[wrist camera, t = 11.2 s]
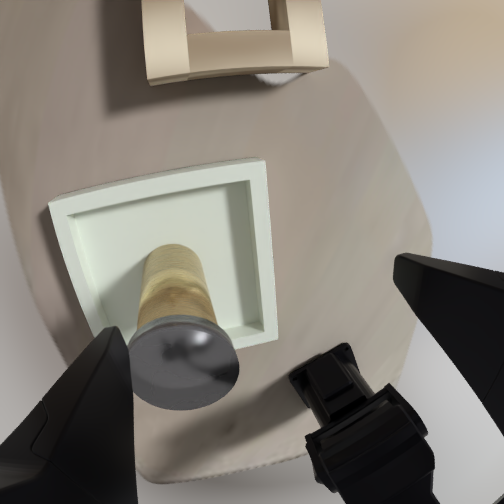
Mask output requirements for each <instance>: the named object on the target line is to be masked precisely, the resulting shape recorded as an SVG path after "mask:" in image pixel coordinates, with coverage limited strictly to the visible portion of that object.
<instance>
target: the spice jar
mask: <svg viewBox="0 0 504 504" xmlns="http://www.w3.org/2000/svg"><path fill="white" fill-rule="evenodd" d="M127 347H128V351H129V357H130V369H131V379H132V388H133V392H134V393H135V394H136V395H137V396H138V397H140V398H141V399H142V400H144V401H146V402H147V403H149V404H151V405H154V406H157V407H160V408H164V409H169V410H192V409H197V408H201V407H205V406H207V405H210V404H212V403H214V402H216V401H218V400H219V399H221V398H222V397H224V396H225V395H226V394H227V393H228V392H229V391H230V390H231V389H232V388H233V386H234V385H235V383H236V381H237V378H238V375H239V362H238V358H237V355H236V352H235V349H234V346H233V343H232V341H231V339H230V337H229V336H228V334H227V333H226V332H225V331H224V330H223V329H222V328H221V327H220V326H218V324H217V320H216V316H215V313H214V309H213V305H212V302H211V298H210V294H209V290H208V287H207V283H206V279H205V275H204V271H203V267H202V263H201V261H200V259H199V257H198V256H197V254H196V253H195V252H194V251H192V250H191V249H190V248H188V247H186V246H183V245H180V244H166V245H163V246H160V247H158V248H156V249H155V250H153V251H152V252H151V253H150V254H149V255H148V257H147V258H146V260H145V262H144V266H143V273H142V282H141V291H140V300H139V310H138V321H137V331H136V332H135V333H134V334H133V336H132V337H131V339H130V340H129V343H128V345H127Z"/></svg>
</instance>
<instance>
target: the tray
mask: <svg viewBox="0 0 504 504" xmlns="http://www.w3.org/2000/svg"><path fill="white" fill-rule="evenodd" d="M48 205H49V209H50V213H51V217H52V220H53V224H54V228H55V231H56V235H57V238H58V241H59V245H60V248H61V251H62V254H63V257H64V260H65V264H66V266H67V269H68V272H69V275H70V278H71V281H72V284H73V286H74V289H75V292H76V294H77V297H78V300H79V302H80V305H81V307H82V310H83V312H84V315H85V317H86V320H87V322H88V324H89V327H90V329H91V331H92V334H93V336H94V338H95V337H96V336H97V335H98V334H99V333H100V332H101V331H102V330H103V329H104V328H105V327H111V326H117V327H118V328H119V329H120V332H121V334H122V336H123V338H124V340H125V343H126V345H128V343H129V340H130V339H131V337H132V336H133V334H134V333H135V332H136V331H137V321H138V310H139V300H140V291H141V282H142V273H143V266H144V262H145V260H146V258H147V257H148V255H149V254H150V253H151V252H152V251H153V250H155V249H156V248H158V247H160V246H163V245H166V244H180V245H183V246H186V247H188V248H190V249H191V250H192V251H194V252H195V253H196V254H197V256H198V257H199V259H200V261H201V263H202V267H203V271H204V275H205V279H206V283H207V287H208V290H209V294H210V298H211V302H212V305H213V309H214V313H215V316H216V320H217V324H218V326H220V327H221V328H222V329H223V330H224V331H225V332H226V333H227V334H228V336H229V337H230V339H231V341H232V343H233V346H234V349H239V348H244V347H248V346H252V345H256V344H261V343H265V342H269V341H273V340H277V339H278V324H277V309H276V294H275V279H274V265H273V252H272V238H271V225H270V213H269V200H268V188H267V176H266V165H265V160H262V159H260V158H257V157H252V158H244V159H237V160H229V161H222V162H216V163H209V164H203V165H197V166H191V167H185V168H179V169H173V170H168V171H162V172H157V173H152V174H147V175H142V176H137V177H132V178H128V179H123V180H119V181H114V182H110V183H105V184H101V185H97V186H93V187H89V188H85V189H81V190H77V191H73V192H69V193H65V194H62V195H58V196H57V197H56V198H54V199H53V200H51V201H50V202H49V203H48Z"/></svg>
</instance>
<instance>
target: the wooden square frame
mask: <svg viewBox="0 0 504 504" xmlns="http://www.w3.org/2000/svg"><path fill="white" fill-rule="evenodd" d="M268 5H269V12H270V21H271V28H272V30H248V31H247V30H246V31H223V32H209V33H198V34H189V35H186V24H185V11H184V0H142V19H143V35H144V49H145V61H146V71H147V80H148V82H149V84H150V86H155V85H161V84H167V83H173V82H180V81H187V80H194V79H202V78H211V77H221V76H233V75H247V74H268V73H310V72H314V71H317V70H321V69H324V68H328V67H329V60H328V51H327V42H326V34H325V27H324V20H323V13H322V6H321V0H268Z"/></svg>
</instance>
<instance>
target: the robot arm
mask: <svg viewBox="0 0 504 504" xmlns="http://www.w3.org/2000/svg"><path fill="white" fill-rule="evenodd" d="M393 281H394V283H395V285H396V286H397V288H398V289H399V291H400V292H401V294H402V295H403V297H404V298H405V300H406V301H407V303H408V304H409V306H410V307H411V309H412V310H413V312H414V313H415V315H416V316H417V317H418V318H419V320H420V321H421V322H422V323H423V325H424V326H425V327H426V328H427V330H428V331H429V332H430V333H431V334H432V336H433V337H434V338H435V340H436V341H437V342H438V344H439V345H440V346H441V347H442V349H443V350H444V351H445V353H446V354H447V355H448V357H449V358H450V359H451V360H452V362H453V363H454V365H455V366H456V367H457V369H458V370H459V371H460V373H461V374H462V376H463V377H464V378H465V380H466V381H467V382H468V384H469V385H470V387H471V388H472V389H473V391H474V392H475V394H476V395H477V397H478V398H479V399H480V401H481V402H482V404H483V405H484V407H485V409H486V410H487V411H488V413H489V415H490V416H491V418H492V419H493V421H494V422H495V423H496V425H497V427H498V428H499V430H500V431H501V433H502V435H503V436H504V273H503V272H499V271H493V270H489V269H484V268H480V267H475V266H470V265H465V264H460V263H456V262H451V261H446V260H441V259H435V258H431V257H426V256H421V255H416V254H411V253H403V254H399V255H397V256H396V257H395V260H394V271H393ZM288 378H289V380H290V382H291V383H292V385H293V386H294V388H295V389H296V391H297V392H298V394H299V395H300V397H301V398H302V400H303V401H304V403H305V404H306V406H307V407H308V408H311V410H312V412H313V413H314V415H315V417H316V419H317V421H318V423H319V425H320V427H321V428H320V429H318V430H317V431H315V432H313V433H311V434H310V433H309V434H308V435H306V436H305V439H306V442H307V443H306V446H305V447H306V449H307V451H308V453H309V455H310V458H311V460H312V465H313V470H314V476H315V480H316V481H317V482H318V483H320V484H324V485H325V486H326V487H327V488H328V489H329V490H330V491H331V492H332V493H336V492H339V494H340V495H341V497H342V498H343V500H344V501H345V503H346V504H440V503H439V502H438V500H437V499H436V497H435V495H434V494H433V492H432V489H433V470H434V469H435V459H434V453H433V451H432V450H431V448H430V446H429V445H428V443H427V442H426V440H425V439H424V437H425V436H427V435H428V431H427V428H426V427H425V425H424V423H423V421H422V420H421V418H420V416H419V415H418V414H417V412H416V411H415V410H414V409H413V407H412V406H411V405H410V404H409V403H408V402H407V401H406V400H405V399H404V398H403V397H402V396H401V395H400V394H399V393H398V392H397V391H396V389H395V388H394V387H393V386H392V385H391V384H390V383H388V384H387V385H386V386H384V388H383V389H382V390H380V391H379V392H377V393H376V394H375V393H374V392H373V391H372V389H371V388H370V386H369V385H368V384H367V382H366V381H365V380H364V378H363V377H362V376H361V374H360V372H359V369H358V366H357V363H356V360H355V357H354V354H353V351H352V349H351V346H350V345H349V344H348V343H343V344H342V345H340V346H338V347H337V348H335V349H333V350H332V351H330V352H328V353H327V354H325V355H323V356H322V357H320V358H318V359H316V360H315V361H313V362H311V363H309V364H308V365H306V366H304V367H302V368H300V369H299V370H297V371H295V372H293V373H291V374H290V375H289V377H288ZM0 504H138V497H137V485H136V471H135V452H134V402H133V388H132V379H131V369H130V357H129V351H128V347H127V345H126V343H125V340H124V338H123V336H122V334H121V332H120V329H119V328H118V327H117V326H111V327H105V328H104V329H103V330H102V331H101V332H100V333H99V334H98V335H97V336H96V337H95V338H94V339H93V341H92V342H91V343H90V344H89V345H88V346H87V347H86V348H85V349H84V351H83V352H82V353H81V354H80V355H79V356H78V357H77V358H76V360H75V361H74V362H73V363H72V364H71V365H70V366H69V368H68V369H67V370H66V371H65V372H64V373H63V375H62V376H61V377H60V378H59V379H58V380H57V381H56V383H55V384H54V385H53V386H52V387H51V388H50V390H49V391H48V392H47V393H46V394H45V396H44V397H43V398H42V401H39V403H38V404H37V405H36V406H35V408H34V409H33V410H32V411H31V412H30V414H29V415H28V416H27V417H26V418H25V419H24V420H23V422H22V423H21V424H20V425H19V426H18V427H17V428H16V429H15V430H14V431H13V432H12V433H11V434H10V435H9V436H8V437H7V439H6V440H5V441H4V442H3V443H2V444H1V445H0ZM493 504H504V494H503V495H502V496H501V497H500V498H499V499H498V500H497V501H495V502H494V503H493Z"/></svg>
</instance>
